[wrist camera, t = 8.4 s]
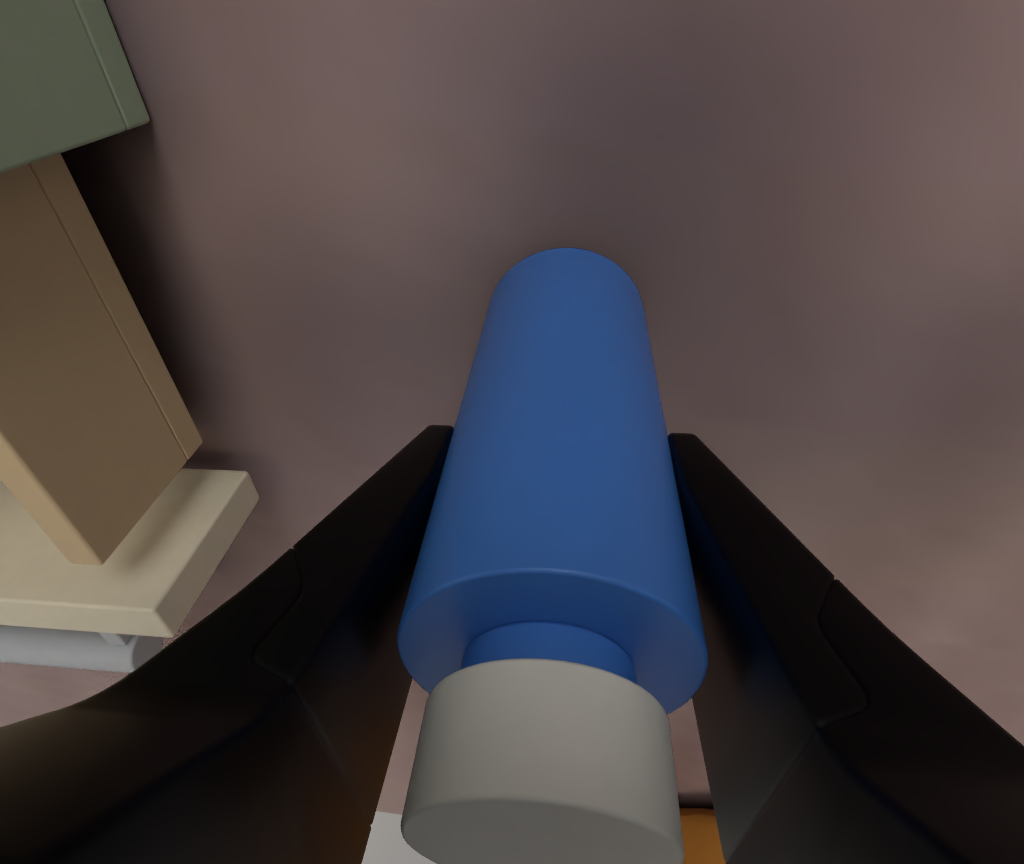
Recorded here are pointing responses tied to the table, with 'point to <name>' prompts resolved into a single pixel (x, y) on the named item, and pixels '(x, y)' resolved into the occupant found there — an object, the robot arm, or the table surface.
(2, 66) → the cabinet
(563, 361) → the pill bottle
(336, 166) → the table surface
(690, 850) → the coffee package
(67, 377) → the drawer
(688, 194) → the table surface
